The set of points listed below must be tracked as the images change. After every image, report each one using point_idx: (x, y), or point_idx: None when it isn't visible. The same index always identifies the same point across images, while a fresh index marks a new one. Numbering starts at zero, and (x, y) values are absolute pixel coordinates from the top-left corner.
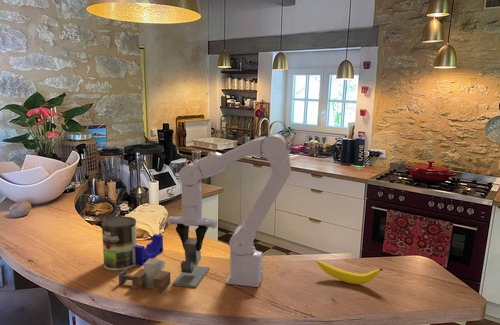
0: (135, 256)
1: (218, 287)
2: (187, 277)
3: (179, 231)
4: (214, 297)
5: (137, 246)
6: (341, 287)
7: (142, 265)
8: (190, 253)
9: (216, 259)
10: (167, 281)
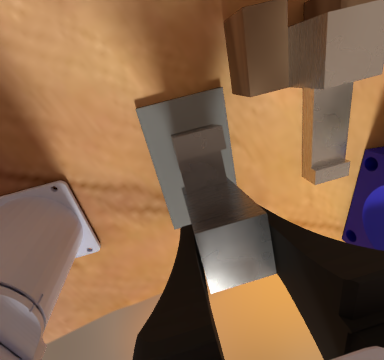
0: None
1: (71, 149)
2: None
3: (359, 259)
4: (29, 79)
5: None
6: None
7: (366, 150)
8: (214, 198)
9: None
10: (236, 66)
